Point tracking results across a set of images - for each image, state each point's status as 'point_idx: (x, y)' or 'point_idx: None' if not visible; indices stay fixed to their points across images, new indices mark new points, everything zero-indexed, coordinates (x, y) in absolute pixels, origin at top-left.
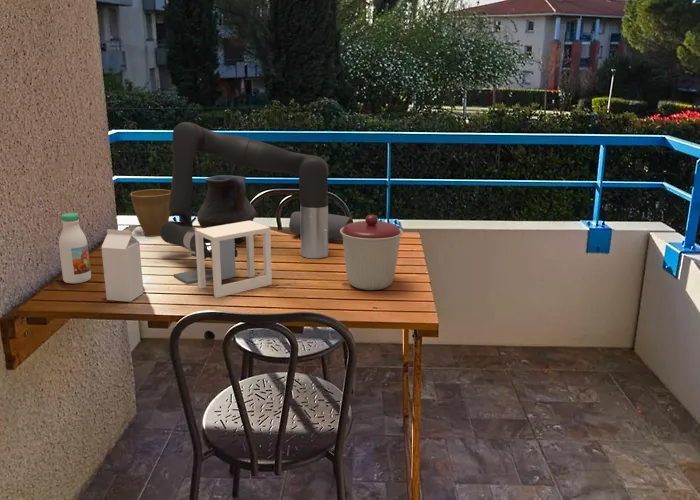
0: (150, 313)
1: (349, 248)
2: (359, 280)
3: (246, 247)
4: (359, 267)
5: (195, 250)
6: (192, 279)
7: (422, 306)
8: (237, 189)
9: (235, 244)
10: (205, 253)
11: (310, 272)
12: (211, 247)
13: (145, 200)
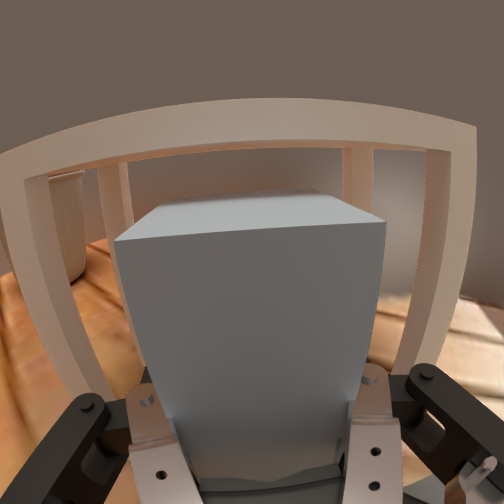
0: (486, 307)
1: (74, 199)
2: (85, 252)
3: (71, 350)
4: (83, 228)
5: (492, 425)
6: (426, 494)
7: (105, 240)
8: None
9: (70, 405)
10: (406, 378)
11: (16, 356)
12: (357, 379)
13: None
